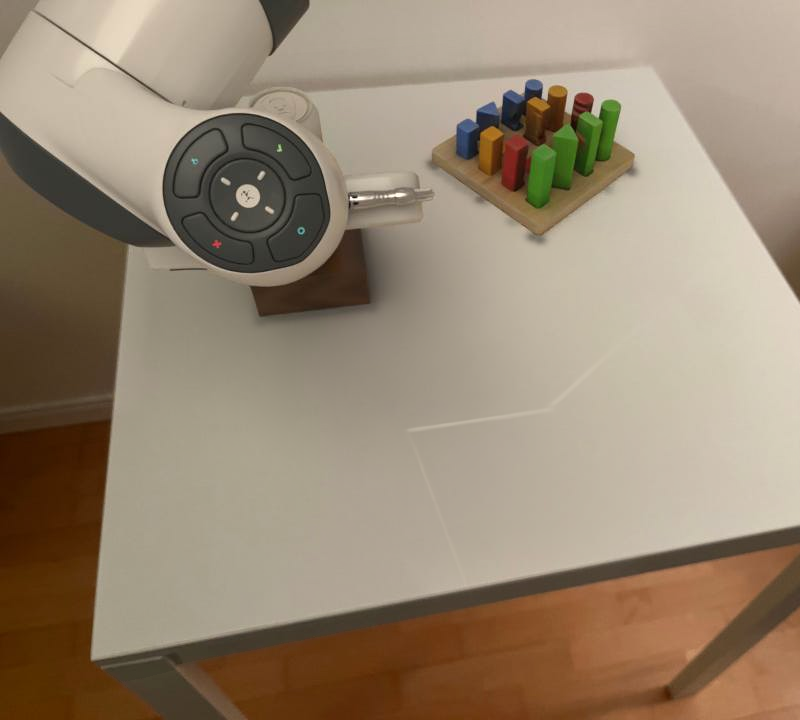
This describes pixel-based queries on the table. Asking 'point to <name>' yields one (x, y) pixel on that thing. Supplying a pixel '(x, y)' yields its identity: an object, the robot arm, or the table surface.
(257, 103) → the orange beverage can
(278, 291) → the walnut block
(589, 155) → the peg board
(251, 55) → the robot arm
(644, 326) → the table surface
